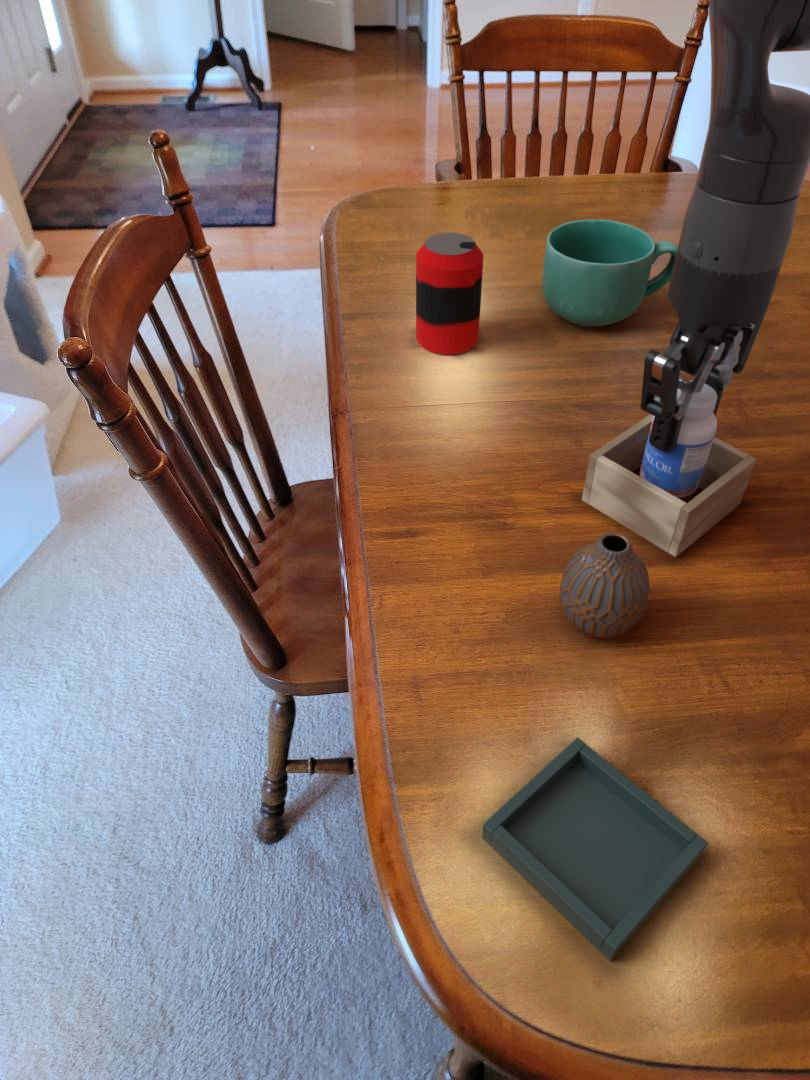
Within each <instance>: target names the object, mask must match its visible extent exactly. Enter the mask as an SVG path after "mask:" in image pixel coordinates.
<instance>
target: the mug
mask: <svg viewBox="0 0 810 1080" xmlns="http://www.w3.org/2000/svg"><path fill="white" fill-rule="evenodd" d="M677 250H678V245H677V244H676V243H674V242H672V241H670V240H660V241H658V242H655V240H654V239H653V237H652V236H651V235H650V234H648V232H646V231H644V230H643V229H641V228H638V227H637V226H634V225H631V224H628V223H624V222H620V221H616V220H610V219H597V218H596V219H595V218H594V219H593V218H591V219H578V220H573V221H569V222H564V223H563V224H560V225H558V226H556V227H555V228H553V229H552V230H551V231H550V232H549V233H548V235H547V238H546V244H545V251H544V260H543V270H542V292H543V296H544V299H545V302H546V303H547V305H548V306H549V308H550V309H551V310H552V311H553V312H554V313H555V314H557V315H558V316H559V317H561V318H563V319H564V320H567V321H568V322H570V323H572V324H574V325H577V326H579V327H580V326H581V327H587V328H588V327H589V328H597V327H598V328H599V327H604V326H608V325H611V324H615V323H619V322H622V321H623V320H625V319H627V318H629V317H630V316H632V315H633V314H634V313H635V312H636V311H637V310H638V309H639V307H640V306H641V304H642V302H643V300H644V299H645V298H647V297H649V296H652V295H653V294H656V293H657V292H658V291H660V290H661V289H662V288H664V287H665V286H666V285H667V284H668V283H670V281H671V276H672V272H673V267H674V263H675V258H676V254H677ZM664 254H670V258H669V259H668V263H667V264H666V266H665V267H664V268H663V269H662V270H661V271H660V272H659V273H658V274H657V275H655V276H654V277H652V278H651V279H650V277H651V272H652V268H653V267H652V266H653V265H654V264H655V262H656V261H657V259H658V258H659V257H660V256H662V255H664Z"/></svg>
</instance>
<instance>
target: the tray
mask: <svg viewBox="0 0 810 1080" xmlns="http://www.w3.org/2000/svg"><path fill="white" fill-rule="evenodd" d="M481 838H482V839H483V840H484V841H485V842H486V843H487V844H488V846H490V847H491V848H492V849H493V850H494V851H495V852H496V853H497V854H498V855H499V856H501V857H502V858H503V859H504V861H505V862H506V863H508V864H509V866H511V867H512V869H514V870H515V871H516V872H517V873H518V874H519V875H520V876H521V877H522V878H523V879H524V880H525V881H526V882H527V883H528V884H530V885H531V887H532V888H533V889H535V890H536V891H537V892H538V893H539V894H540V895H541V897H543V898H544V899H545V900H546V901H547V902H548V903H549V904H550V905H551V906H552V907H553V908H554V909H555V910H556V911H557V912H558V913H559V914H561V916H563V918H564V919H566V920H567V921H568V922H569V923H570V924H571V925H572V926H573V927H574V928H575V929H576V930H577V931H578V932H579V933H580V934H581V935H582V936H583V937H584V938H585V939H586V940H587V941H588V942H590V943H591V944H592V945H593V946H594V947H595V949H597V950H598V951H599V953H601V954H602V955H603V956H604V957H605V958H606V959H607V960H608V961H609V962H611V961H613V960H614V958H615V957H616V956H617V955H618V954H619V953H620V951H621V950H622V949H624V947H625V945H626V944H627V943H628V942H629V941H630V940H631V939H632V938H633V936H635V934H636V933H637V931H639V929H640V928H641V927H643V925H644V924H645V922H646V921H647V920H648V919H649V918H650V917H651V915H652V914H653V913H654V912H655V911H656V910H657V909H658V907H659V906H660V905H661V904H662V903H663V902H664V901H665V899H666V898H667V897H668V896H669V895H670V893H671V892H672V891H674V889H675V888H676V887H677V886H678V884H679V883H680V882H681V881H682V880H683V879H684V877H685V876H686V875H687V874H688V873H689V872H690V870H691V869H692V868H693V867H694V866H695V865H696V863H697V862H698V861H699V860H700V859H701V857H702V856H703V853H705V850H706V848H707V846H708V845H709V842H708V841H707V840H705V839H704V838H703V837H702V836H700V835H699V834H698V833H697V832H696V831H694V830H693V829H692V828H691V827H689V825H687V824H686V823H684V822H683V821H682V820H680V819H679V818H678V817H677V816H676V815H675V814H673V813H672V812H671V811H669V809H667V808H666V807H665V806H663V805H662V804H661V803H659V802H658V801H657V800H656V799H655V798H654V797H652V796H651V795H649V793H647V792H646V791H645V790H644V789H642V788H641V787H640V786H639V785H637V784H636V783H635V782H633V780H631V779H630V778H629V777H627V776H626V775H625V774H624V773H623V772H621V771H620V770H619V769H617V768H616V767H615V766H614V765H613V764H612V763H610V762H609V761H608V760H607V759H605V758H604V757H603V756H601V755H600V754H599V753H598V752H596V750H594V749H593V748H592V747H590V746H589V745H588V744H587V743H586V742H584V741H583V740H582V739H581V738H579V737H576V738H575V739H573V740H572V742H571V743H569V744H568V745H567V746H566V747H565V748H564V749H563V750H562V751H561V752H560V753H558V754H557V755H556V756H555V757H554V758H553V759H552V760H551V761H550V762H548V763H547V764H546V766H545V767H543V768H542V769H541V770H540V771H539V772H537V773H536V775H535V776H533V777H532V778H531V779H530V780H529V781H528V782H527V783H526V784H525V785H524V786H522V788H520V789H519V790H518V791H517V792H516V793H515V794H514V795H513V796H512V797H511V798H509V800H507V801H506V802H505V803H504V804H503V805H502V806H501V807H499V809H498V810H497V811H495V812H494V813H493V814H492V815H491V816H490V817H489V818H488V819H487V820H485V822H483V824H482V833H481Z"/></svg>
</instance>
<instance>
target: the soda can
mask: <svg viewBox="0 0 810 1080" xmlns="http://www.w3.org/2000/svg"><path fill="white" fill-rule="evenodd" d="M483 270H484V253H483V251H482V250H481V249H480V247H479V246H478V245H477V243H476V241H475V240H474V239H473V238H472V237H471V236H469V235H466V234H463V233H458V232H441V233H436V234H433V235H431V236H429V237H427V238H426V240H425V241H424V243H423V244H422V245H421V246H420V248H419V249H418V250H417V252H416V255H415V338H416V339H415V340H416V341H417V343H418V345H420V346H421V347H422V348H423V349H424V350H426V351H428V352H429V353H433V354H436V355H441V356H442V355H445V356H449V355H452V356H453V355H458V354H462V353H466V352H468V351H469V350H471V349H472V348H474V347H475V345H477V343H478V341H479V336H480V320H481V307H482V306H481V305H482V290H483V289H482V287H483V274H484V273H483Z"/></svg>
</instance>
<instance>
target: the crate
mask: <svg viewBox="0 0 810 1080" xmlns="http://www.w3.org/2000/svg"><path fill="white" fill-rule="evenodd" d="M652 420H653V415H651V414H649V415H647V416H645V417H644V418H642V419H641V420H639V421H638V422H637V423H635V424H633V425H632V426H630V427H628V428H627V429H626V430H625V431H623V432H622V433H620V434H619V435H617V436H616V437H614V438H612V439H611V440H610V441H609V442H607V443H606V444H604V445H603V446H601V447H599V448H598V449H596V450H595V451H593V452H592V453H590V454H589V457H588V464H587V468H586V473H585V480H584V485H583V491H582V494H581V495H582V496H581V501H582V502H583V503H586V504H587V505H589V506H591V507H592V508H594V509H596V510H597V511H598V512H600V513H602V514H603V515H605V516H607V517H608V518H609V519H612V520H613V521H615V522H617V523H619V524H620V525H622V526H623V527H625V528H626V529H628V530H630V531H631V532H633V533H634V534H636V535H638V536H640V537H641V538H642V539H645V540H646V541H647V542H649V543H650V544H653V545H654V546H655V547H658V548H659V549H661V550H662V551H664V552H665V553H668V554H669V555H670V556H672V557H674V558H677V557H678V556H679V555H680V554H681V553H683V552H684V551H686V549H688V547H690V546H691V545H692V544H694V543H695V542H696V541H697V540H698V539H700V538H701V537H702V536H703V535H705V534H706V533H707V532H708V531H709V530H710V529H712V528H713V527H715V525H717V524H718V523H719V522H720V521H721V520H722V519H724V518H725V517H726V516H727V515H728V514H730V513H731V512H732V511H733V510H735V509H736V508H737V507H738V506H739V505H740V504H741V503H742V500H743V497H744V494H745V492H746V488H747V486H748V483H749V481H750V478H751V475H752V472H753V469H754V467H755V464H756V461H757V458H756V457H755V456H752V455H751V454H748V453H746V452H744V451H743V450H741V449H739V448H736V447H735V446H733V445H731V444H729V443H727V442H725V441H723V440H721V439H719V438H717V437H715V436H714V440H713V443H712V446H711V449H710V452H709V455H708V458H707V462H706V465H705V468H704V471H703V474H702V477H701V480H700V483H699V486H698V488H700V489H702V491H701V492H699V494H697V495H696V496H694V497H693V498H692V499H691V500H690V501H688V502H687V501H684V500H682V499H681V498H677V497H675V496H673V495H671V494H670V493H668V492H666V491H664V490H663V489H661V488H659V487H657V486H656V485H654V484H652V483H650V482H649V481H647V480H645V479H643V478H641V477H640V475H638V474H636V473H635V471H636V470H638V469H639V468H641V464H642V461H643V457H644V452H645V449H646V445H647V440H648V436H649V432H650V428H651V423H652Z"/></svg>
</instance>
